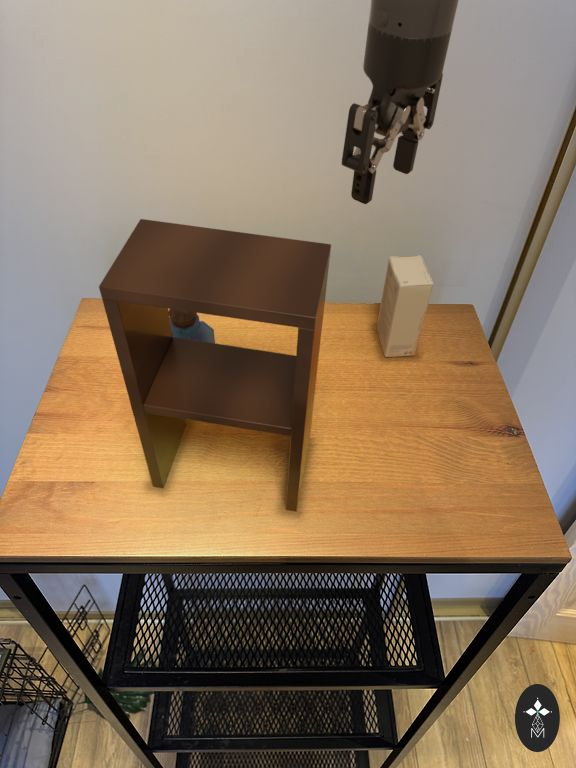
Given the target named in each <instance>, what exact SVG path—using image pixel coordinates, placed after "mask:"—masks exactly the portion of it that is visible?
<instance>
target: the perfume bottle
mask: <svg viewBox="0 0 576 768" xmlns="http://www.w3.org/2000/svg"><path fill="white" fill-rule="evenodd" d="M168 311H169V317H170V323H171V330H172V336H173V337H176V338H183V339H189V340H196V341H203V342H209V343H216V340H215V339H216V338H215V329H214V328H213V327H212V326H211V325H209V324H208V323H206V321H204V320H200V317H199V315H198V313H196V312H189V311H182V310H175V309H169V308H168Z"/></svg>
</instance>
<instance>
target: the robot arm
mask: <svg viewBox="0 0 576 768" xmlns="http://www.w3.org/2000/svg"><path fill="white" fill-rule="evenodd" d="M458 4H459V0H371V1H370V9H369V17H368V24H367V25H368V26H367V31H366V33H367V34H366V40H365V47H364V48H365V49H364V57H363V63H362V64H363V65H362V67H363V73H364V74H365V76H366V77H367V78H368V79H369V81H370V82H371V84H372V89H371V93H370V95H369V98H368V101H367V104H365V105H361V104H358V103H355V102H354V103H352V104H351V105H350V107H349V109H348V115H347V122H346V129H345V134H344V135H345V136H344V143H343V149H342V150H343V151H342V157H341V166H342V167H345V168H348V169H349V170H352V171H353V176H352V185H351V193H350V195H351V198H352V199H353V200H354V201H356V202H359V203H361V204H363V205H367V204H369V203H370V202H372V200H373V195H374V189H375V183H376V177H377V168H378V167H379V164H380V162H381V160H382V157H383V155H384V154H385V153H387V152H389V151H391V149H392V146H393V145H394V142H395V140H396V138H397V137H398V138H397V142H396V147H395V154H394V159H393V164H392V168H393V169H394V170H395V171H397V172H399V173H402V174H404V175H408V174H410V173H411V172H413V170H414V165H415V161H416V157H417V152H418V147H419V142H420V141H421V140H422V139H423V138H424V135H425V129H426V130H431V128H432V127H433V125H434V122H435V116H436V111H437V106H438V101H439V97H440V93H441V92H440V91H441V86H442V82H443V77H444V74H443V72H444V67H445V63H446V59H447V53H448V49H449V44H450V40H451V35H452V32H453V26H454V22H455V18H456V14H457V9H458ZM424 108H426V114H425V109H424ZM375 134H377V135H380V136H381V137H383V138H378V137H376V136H375ZM399 134H401V135H400V136H398V135H399ZM372 148H374V150H373V149H372ZM372 150H373V153H372Z"/></svg>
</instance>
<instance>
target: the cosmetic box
mask: <svg viewBox="0 0 576 768" xmlns="http://www.w3.org/2000/svg"><path fill="white" fill-rule="evenodd" d="M433 288H434V282H433V278H432V276H431V274H430V271H429V269H428V267H427V264H426V263H425V260H424V258H423V256H422V255H392V256H389V257H388V261H387V268H386V273H385V279H384V284H383V290H382V296H381V299H380V306H379V312H378V318H377V323H376V331H377V336H378V339H379V343H380V346H381V349H382V353H383V355H384V357H385V358H394V357H411V356H415V355H416V353H417V349H418V344H419V341H420V337H421V333H422V329H423V325H424V321H425V317H426V313H427V310H428V306H429V302H430V298H431V295H432V291H433Z"/></svg>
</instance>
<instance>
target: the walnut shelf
mask: <svg viewBox="0 0 576 768" xmlns="http://www.w3.org/2000/svg"><path fill="white" fill-rule="evenodd" d="M331 250H332V244H330V243H324V242H316V241H309V240H303V239H302V240H301V239H293V238H286V237H279V236H271V235H263V234H257V233H250V232H241V231H233V230H226V229H220V228H212V227H206V226H205V227H204V226H199V225H198V226H197V225H190V224H189V225H188V224H184V223H183V224H182V223H174V222H166V221H161V220H152V219H144V218H140V219H139V221H138V222H137V224H136V226H135V227H134V228H133V230H132V232H131V234H130V235H129V237H128V238H127V240H126V241H125V243H124V245H123V246H122V248H121V250H120V252H119V253H118V255H117V256H116V258H115V259H114V261H113V263H112V265H111V266H110V268H109V269H108V271H107V272H106V274H105V276H104V277H103V279H102V280H101V282H100V284H99V285H98V289H99V292H100V297H101V299H102V300H101V301H102V305H103V307H104V311H105V315H106V318H107V322H108V326H109V330H110V333H111V337H112V341H113V345H114V349H115V352H116V355H117V360H118V363H119V368H120V371H121V374H122V377H123V381H124V386H125V389H126V392H127V396H128V401H129V405H130V407H131V411H132V415H133V419H134V423H135V426H136V430H137V433H138V436H139V440H140V445H141V446H142V447H141V448H142V451H143V455H144V459H145V462H146V466H147V470H148V473H149V477H150V480H151V485H152V487H153V488H159V489H164V488H165V485H166V483H167V480H168V477H169V474H170V471H171V468H172V465H173V463H174V460H175V457H176V454H177V452H178V450H179V447H180V445H181V441H182V439H183V436H184V432H185V431H186V427H187V425H188V424H187V420H188V421H193V422H199V423H206V424H212V425H216V426H217V425H219V426H222V427H223V426H224V427H229V428H236V429H243V430H247V431H255V432H260V433H266V434H273V435H277V436H278V435H279V436H285V437H290V440H289V441H290V443H289V454H288V455H289V458H288V471H287V484H286V485H287V486H286V498H285V499H286V500H285V510H286V511H291V512H294V513H295V512H297V511H298V507H299V501H300V496H301V490H302V485H303V479H304V474H305V468H306V463H307V457H308V451H309V446H310V439H311V431H312V430H311V429H312V422H313V421H312V420H313V412H314V403H315V395H316V386H317V385H316V384H317V376H318V366H319V356H320V350H321V341H322V332H323V331H322V330H323V323H324V322H323V320H324V315H325V314H324V313H325V305H326V295H327V286H328V277H329V270H330V269H329V268H330V259H331ZM169 309H175V310H182V311H189V312H196V313H197V314H202V315H203V314H204V315H211V316H215V317H216V316H217V317H224V318H231V319H237V320H245V321H249V322H250V321H251V322H257V323H258V322H259V323H264V324H272V325H279V326H286V327H290V328H291V327H292V328H297V339H296V340H297V341H296V353H295V354H296V355H293V354H287V353H282V352H281V353H280V352H274V351H269V350H261V349H255V348H248V347H242V346H235V345H229V344H221V343H216V342H215V343H209V342H203V341H196V340H189V339H183V338H176V337H173V336H172V330H171V323H170V316H169Z"/></svg>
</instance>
